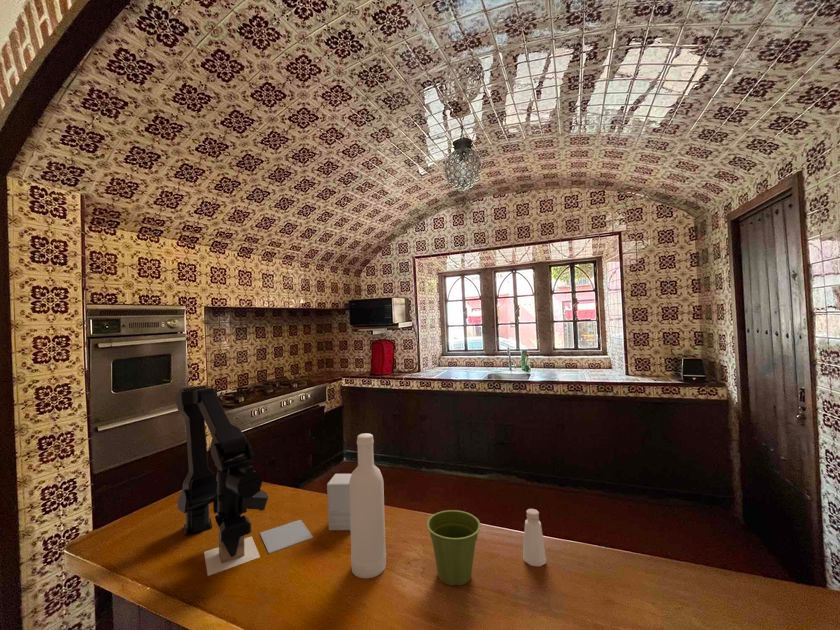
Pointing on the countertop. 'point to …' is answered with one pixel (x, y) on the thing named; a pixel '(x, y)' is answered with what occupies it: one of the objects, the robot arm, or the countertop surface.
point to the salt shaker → (533, 540)
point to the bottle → (367, 513)
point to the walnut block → (224, 553)
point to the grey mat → (285, 536)
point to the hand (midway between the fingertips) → (231, 550)
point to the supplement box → (339, 502)
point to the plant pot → (454, 544)
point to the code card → (215, 563)
